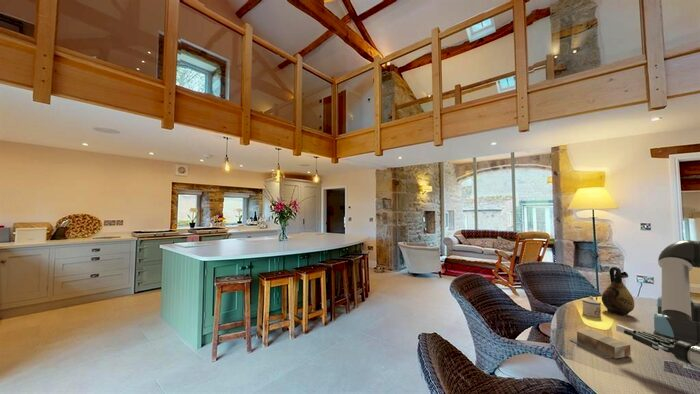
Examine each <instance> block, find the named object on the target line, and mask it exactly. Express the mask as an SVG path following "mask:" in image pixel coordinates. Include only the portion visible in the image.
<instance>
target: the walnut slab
mask: <svg viewBox="0 0 700 394" xmlns="http://www.w3.org/2000/svg"><path fill="white" fill-rule="evenodd" d="M576 338H577V341H578V342H580V343H582V344H584V345H587V346H589V347H591V348H593V349H595V350H598V351H600V352H602V353H604V354H606V355H609V356H611V357H613V358H612V359H620V358H626V357H630V356H631V350H632V349H631V344H629V343H628V342H625V341H622V340H619V339H616V338H615V337H612V336H609V335H606V334H604V333H602V332H599V331H597V330H594V329H584V330H577V331H576Z"/></svg>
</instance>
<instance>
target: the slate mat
mask: <svg viewBox="0 0 700 394" xmlns="http://www.w3.org/2000/svg"><path fill="white" fill-rule="evenodd" d="M570 340H571V341H570ZM569 341H570V342H572V341H573V342H572V343H574V344H576V345H579V346H581V347H582V348H585V349H587V350H589V351H592V352H594V353H596V354H598V355H600V356H602V357H605V358H606V359H614V358H613V357H611V356H609V355H606V354H604V353H602V352H600V351H598V350H595V349H593V348H591V347H589V346H587V345H584V344H582V343H580V342H578V341H577V337H576V338H571V339H569Z"/></svg>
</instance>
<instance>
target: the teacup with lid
mask: <svg viewBox="0 0 700 394" xmlns="http://www.w3.org/2000/svg"><path fill="white" fill-rule="evenodd" d="M581 301H582V313H583V315H585V316H588V317H591V318H601V315H602V314H601V313H602V312H601V309H602V308H601V305H602V303H601V302H602V301H599V300H597V299H596V298H594V297H593V296H588V297H585V298H584V297H583V298H582V299H581Z"/></svg>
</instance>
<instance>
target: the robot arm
mask: <svg viewBox="0 0 700 394" xmlns="http://www.w3.org/2000/svg"><path fill="white" fill-rule="evenodd" d="M657 261H658V264H657V265H658V266H659V268H661V296H658V297H657V300H656V301H657V302H656V303H657V304H656V306H657V313H654V317H653V327H654V330H653V333H650V332H648V331H647V332H646V331H643V330H642V331H640V330H635V329H633V328H629V327H626V326H624V325H621V324H616V325H615V326H616V327H615V328H616V329H615V330H616V332H619V333H622V334H623V335H627V336H629V337H632V340H634V341H637V342H638V343H641V344H643V345H645V346H647V347H649V348H652V349H653V350H654V351H658V352H659V351H660V350H662V351H663V352H666V353H671V354H673V356H674V358H675V359H676V360H678V361H680V362H683V363H685V364H687V365H692V366H694V367H696V368H698V369H700V303H699V302H694V301H693V299H691V285H690V283H691V282H690V271H692V270H693V268H698V269H700V241H699V240H690V239H688V240H680V241H676V242H673V243H671V244H670V245H667V246H666V247H665V248H664V249H663V250H662V251H661V252H660V254H659V255H658V259H657Z"/></svg>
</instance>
